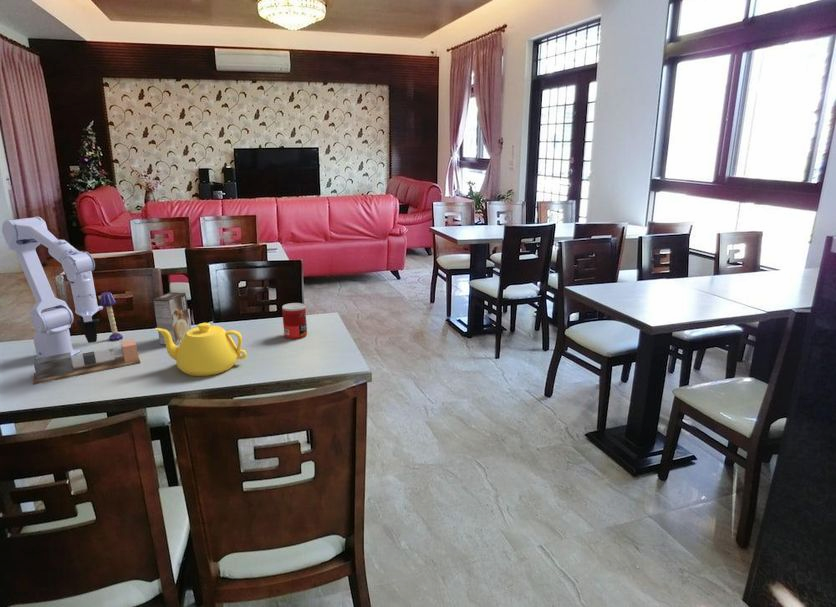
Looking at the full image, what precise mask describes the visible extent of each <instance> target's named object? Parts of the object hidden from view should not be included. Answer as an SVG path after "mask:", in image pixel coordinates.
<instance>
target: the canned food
mask: <svg viewBox="0 0 836 607" xmlns="http://www.w3.org/2000/svg"><path fill="white" fill-rule="evenodd" d="M306 311H307V310H306V305H305V303H301V302H291V303H286V304H283V305H282V306H281V312H282V322H283V323H282V325H283V326H282V327H283V335H284V337H285V338H286V339H288V338H289V339H288V340H299V339H300V338H301V339H304V338H306V337H307V336H308V327H307V312H306ZM305 336H306V337H305ZM303 337H304V338H303Z"/></svg>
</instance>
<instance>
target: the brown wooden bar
mask: <svg viewBox="0 0 836 607" xmlns="http://www.w3.org/2000/svg"><path fill="white" fill-rule="evenodd" d="M114 357H115V359H113V360H108V361H103V362H97V363H96V364H90V365H82V366H76V367H73V365H72V360H71V353H64V354H59V355H53V356H48V357H42V358H37V357H36V358H34V359H33V368H34V371H35V372H33V374H32V375H33V376H32V377H33V378H32V385H36V384H43V383H47V382H52V380H53V381H57V380H63V379H66V378H67V379H68V378H73V377H77V376H84V375H87V374H88V375H89V374H92V373H96V372H97V373H98V372H102V371H103V372H104V371H108V370H113V369H117V368H123V367H128V366H133V365H138V364H139V365H140V364H141V360H140V357H139V356H138V358H139V360H137V361H132V362H127V363H125V361H124V358H123V355H121V356H114Z"/></svg>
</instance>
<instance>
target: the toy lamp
mask: <svg viewBox="0 0 836 607" xmlns="http://www.w3.org/2000/svg"><path fill="white" fill-rule="evenodd" d="M116 304H117V302H116V300H115V298H114V295H113V293H111V292H110V291H106V292H102V293H101V294H100V306H102V307H105V308H106V312H107V316H108V320H109V325H110V330H111V334H110V335H109V337H108V340H109V341H110V340H117V341H120V340H119V339H121V340H123V338H124V337H123V335H122V334H121V333H118V332H119V331H118V328H117V326H116V325H117V323H116V320H115V319H116V318H115V317H114V316H115V314H114V310H113V306H114V305H116Z"/></svg>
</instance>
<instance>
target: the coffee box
mask: <svg viewBox="0 0 836 607" xmlns="http://www.w3.org/2000/svg"><path fill="white" fill-rule="evenodd" d="M152 302H153V308H154V314H155V321H156V328H161V329H165V330H167V331H168V332H169V333H170V334H171V337H172V341H173V343H174V344H175V345H176V346H178V345H180V343H181V341H182V339H183V337H184V335H185V334H186V332H187V331H189V330H191V329H192V327H191V322H190V321H191V320H190V315H189V308H188V302H187V295H186V292H171V291H170V292H167V293H165V294H163V295H160V296H157V297H156V298H153V299H152ZM157 332H158V340H159V344H160V345H164V344H165V339H164V336H163V335H162V334H161V333H160V332H159V331H158V330H157ZM177 344H178V345H177Z"/></svg>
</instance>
